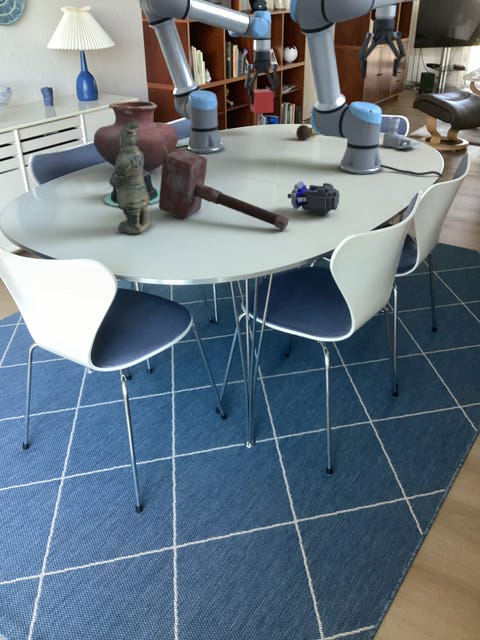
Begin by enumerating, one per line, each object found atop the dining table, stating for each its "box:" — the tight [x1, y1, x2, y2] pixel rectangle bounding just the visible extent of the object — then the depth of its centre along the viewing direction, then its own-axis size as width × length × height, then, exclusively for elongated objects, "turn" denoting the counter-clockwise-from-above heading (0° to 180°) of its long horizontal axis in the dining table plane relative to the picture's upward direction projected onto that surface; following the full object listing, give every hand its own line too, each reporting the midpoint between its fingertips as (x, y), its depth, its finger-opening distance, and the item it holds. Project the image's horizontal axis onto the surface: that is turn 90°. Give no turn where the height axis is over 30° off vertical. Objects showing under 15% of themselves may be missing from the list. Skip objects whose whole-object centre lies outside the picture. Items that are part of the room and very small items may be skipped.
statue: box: [108, 121, 153, 235], centre depth 154 cm, size 11×9×30 cm
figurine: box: [295, 120, 317, 141], centre depth 261 cm, size 13×8×25 cm
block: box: [249, 88, 275, 114], centre depth 259 cm, size 9×9×9 cm
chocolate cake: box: [103, 169, 160, 207], centre depth 186 cm, size 15×19×20 cm
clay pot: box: [93, 100, 179, 172], centre depth 208 cm, size 30×30×25 cm
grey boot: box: [382, 116, 422, 150], centre depth 236 cm, size 9×12×15 cm
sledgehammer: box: [158, 148, 290, 231], centre depth 163 cm, size 17×10×40 cm
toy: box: [287, 180, 341, 216], centre depth 168 cm, size 9×9×15 cm
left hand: (261, 103), depth 260 cm, fingers closed on block, 9 cm apart
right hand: (379, 77), depth 227 cm, fingers open, 13 cm apart
